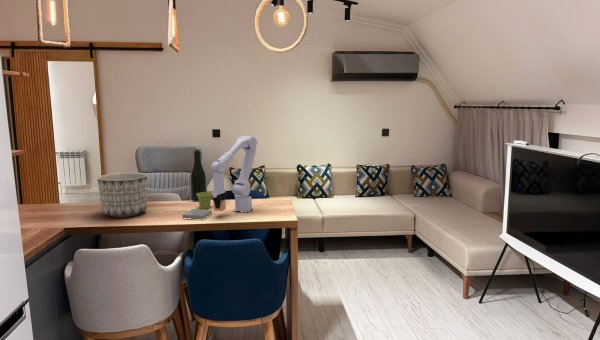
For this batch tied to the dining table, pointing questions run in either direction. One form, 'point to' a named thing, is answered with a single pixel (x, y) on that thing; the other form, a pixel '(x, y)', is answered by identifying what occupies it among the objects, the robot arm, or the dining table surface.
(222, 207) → the terracotta cube
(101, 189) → the planter
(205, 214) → the slate plinth
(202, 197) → the plant pot
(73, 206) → the dining table surface
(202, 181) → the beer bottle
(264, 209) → the dining table surface
